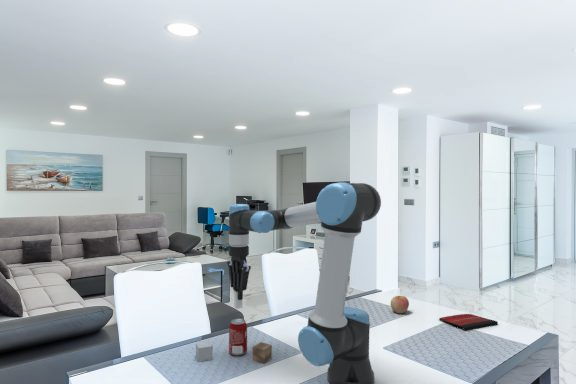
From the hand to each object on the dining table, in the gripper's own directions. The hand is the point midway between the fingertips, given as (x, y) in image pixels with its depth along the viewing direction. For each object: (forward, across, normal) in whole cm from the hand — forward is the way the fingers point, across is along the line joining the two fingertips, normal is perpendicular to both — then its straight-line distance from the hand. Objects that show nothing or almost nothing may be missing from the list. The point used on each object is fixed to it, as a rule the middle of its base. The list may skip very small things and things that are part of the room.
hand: (238, 307), depth 146 cm
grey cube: (+17, +4, +12) cm, 21 cm away
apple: (+17, -10, -89) cm, 91 cm away
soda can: (+17, 0, 0) cm, 17 cm away
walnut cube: (+17, -10, -4) cm, 20 cm away
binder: (+18, -38, -102) cm, 110 cm away
